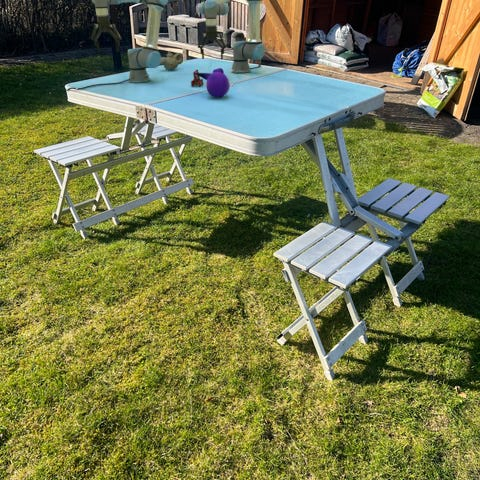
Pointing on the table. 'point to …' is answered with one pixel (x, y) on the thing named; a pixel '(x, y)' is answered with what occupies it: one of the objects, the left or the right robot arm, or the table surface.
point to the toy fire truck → (196, 79)
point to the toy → (216, 82)
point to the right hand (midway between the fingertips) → (212, 58)
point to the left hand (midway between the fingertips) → (108, 51)
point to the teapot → (171, 61)
